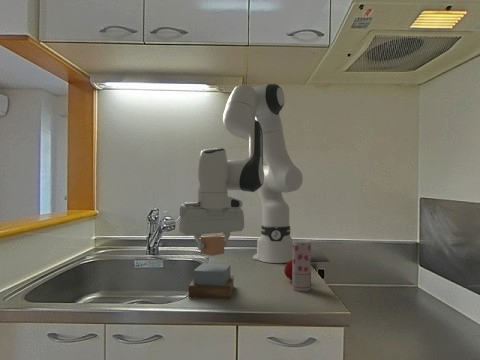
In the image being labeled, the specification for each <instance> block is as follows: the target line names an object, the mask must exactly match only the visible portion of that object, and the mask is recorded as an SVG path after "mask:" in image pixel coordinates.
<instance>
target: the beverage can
mask: <svg viewBox="0 0 480 360" xmlns="http://www.w3.org/2000/svg"><path fill="white" fill-rule="evenodd" d="M293 240H294V241H293V272H292V281H291V283H292V285H291V287H292V289H293V290H294V291H298V292H309V291H310V290H311V289H312V275H311V274H312V243H311V240H308V239H304V238H303V239H302V238H301V239H293Z"/></svg>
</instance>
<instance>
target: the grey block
mask: <svg viewBox="0 0 480 360" xmlns="http://www.w3.org/2000/svg"><path fill="white" fill-rule="evenodd" d="M230 276H231V264H223V263H221V264H220V263H219V264H217V263H203V262H202V263H201V264H200V265H199V266H197V267H196V268H195V269H194V270H193V278H194V284H198V285H213V286H224V285H225V284H226V283H227V281H228V280H229V279H230Z"/></svg>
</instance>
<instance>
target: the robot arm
mask: <svg viewBox="0 0 480 360" xmlns="http://www.w3.org/2000/svg"><path fill="white" fill-rule="evenodd" d="M284 105H285V94H284V91H283V88H282V87H281V86H280V85H278V84H276V83H274V84H273V83H269V84H266V85H265V84H264V85H263V84H262V85H257V86H253V87H252V86H250V85H249V84H240V85H237V86H235V87H234V89H233V90H232V92H231V93H230V96H229V97H228V99H227V101H226V104H225V108H224V112H223V117H222V123H223V126H224V128H225V129H226V131H228V133H230V134H231V135H233V136H234V137H236V138H241V139H244V140H246V141H248V143H249V145H248V157H247V158H245V159H228V157H227V151H226V149H225V148H224V147H207V148H204V149H203V150H201V151H200V154H199V158H198V169H197V170H198V171H197V172H198V175H197V178H198V183H199V185H198V190H197V202H196V201H195V202H184V204H181V206H180V208H179V216H180V218H179V228H178V230H179V233H180V234H181V235H183V236H193V238H194V240H195V241H196V244H197V250H199V251H201V249H204V248H205V247H204V246H205V243H202V242H201V237H202V235H207V234H208V235H210V234H220V233H221V234H222V236H223V237H224V248H227V246H228V245H227V244H228V241H229V239H230V237H231V233H235V232H242V231H243V230H244V228H245V215H244V214H245V213H244V210H243V209H242V207H243V201H242V200H240V199H237V198H234V197H232V196H229V195H228V191H243V192H250V193H254V192H257V193H258V195H259V198H260V202H261V209H262V212H261V214H262V218H261V219H262V221H261V222H262V224H261V228H260V230H261V231H260V233H261V235H260V236H259V238H258V239H257V241H256V251H257V252H256V253H255V254H254V255H253V256H252V260H256V261H259V262H263V263H269V264H271V263H272V264H284V263H285V264H287V263H288V262H289V261H290V260H292V258H293V241H294V240H295V239H293V238H292V237H291V231H292V230H291V226H290V206H289V204H288V203H287V202H286V201H285V199H284V198H283V197H284V196H283V193H286V194H287V193H292V192H296V191H298V190H299V189H300V188H301V186H302V185H303V180H304V179H303V173H302V171H301V170H300V168H298V167H297V166H296V165H295V164H294V162H293V161H292V160H291V157H290V155H289V153H288V151H287V147H286V141H285V136H284V130H283V128H284V127H283V124H282V119H281V116H280V112H281V111H282V110H283V107H284ZM264 160H265V162H266V164H267V165H264Z"/></svg>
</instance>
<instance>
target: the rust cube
mask: <svg viewBox="0 0 480 360" xmlns="http://www.w3.org/2000/svg"><path fill="white" fill-rule="evenodd" d="M200 240H201V242H202V243H205V246H204V247H205V248H204V249H201V250H200V254H202V255H207V256H210V257H211V256H212V257H214V256H218V255H222V254H223V255H224V254H225V247H224V235H216V234H211V235H210V234H208V235H203V236H202V235H201V238H200Z"/></svg>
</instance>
